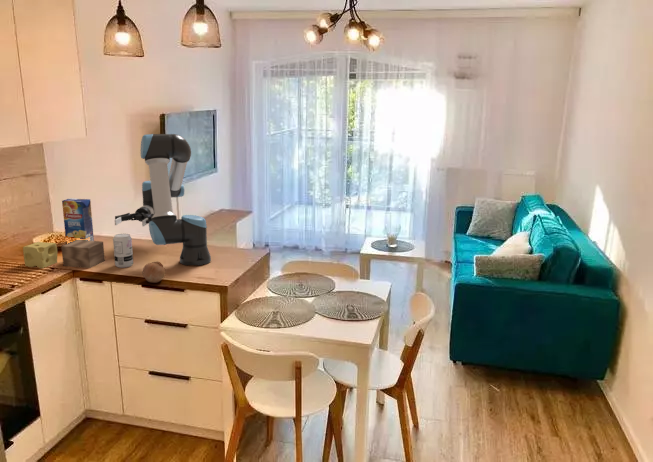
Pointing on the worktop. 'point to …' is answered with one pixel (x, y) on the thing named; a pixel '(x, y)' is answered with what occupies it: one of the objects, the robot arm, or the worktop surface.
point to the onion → (153, 272)
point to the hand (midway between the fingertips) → (129, 223)
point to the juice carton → (78, 218)
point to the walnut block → (83, 253)
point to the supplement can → (123, 250)
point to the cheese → (40, 254)
